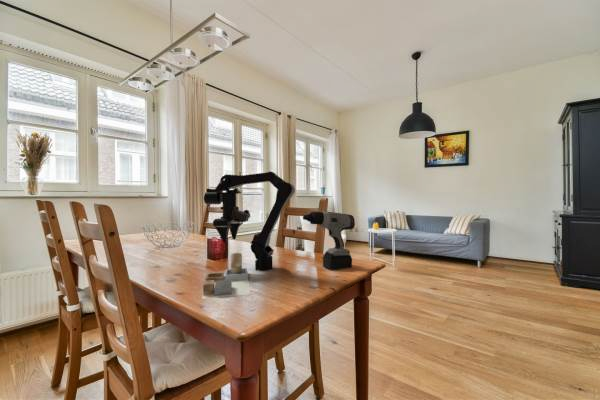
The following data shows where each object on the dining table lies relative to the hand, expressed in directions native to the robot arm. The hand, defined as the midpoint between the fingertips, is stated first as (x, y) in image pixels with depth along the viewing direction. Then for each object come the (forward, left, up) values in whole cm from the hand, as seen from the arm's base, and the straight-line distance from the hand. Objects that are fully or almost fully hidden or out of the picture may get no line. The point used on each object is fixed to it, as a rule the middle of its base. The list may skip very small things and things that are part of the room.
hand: (229, 241), depth 112 cm
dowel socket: (+5, +15, -11) cm, 20 cm away
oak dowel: (-2, +15, -11) cm, 19 cm away
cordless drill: (-42, +8, -13) cm, 45 cm away
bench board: (+1, +21, -12) cm, 25 cm away
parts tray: (-2, +15, -11) cm, 19 cm away
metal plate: (+2, +29, -11) cm, 31 cm away
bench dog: (+6, +29, -11) cm, 32 cm away
